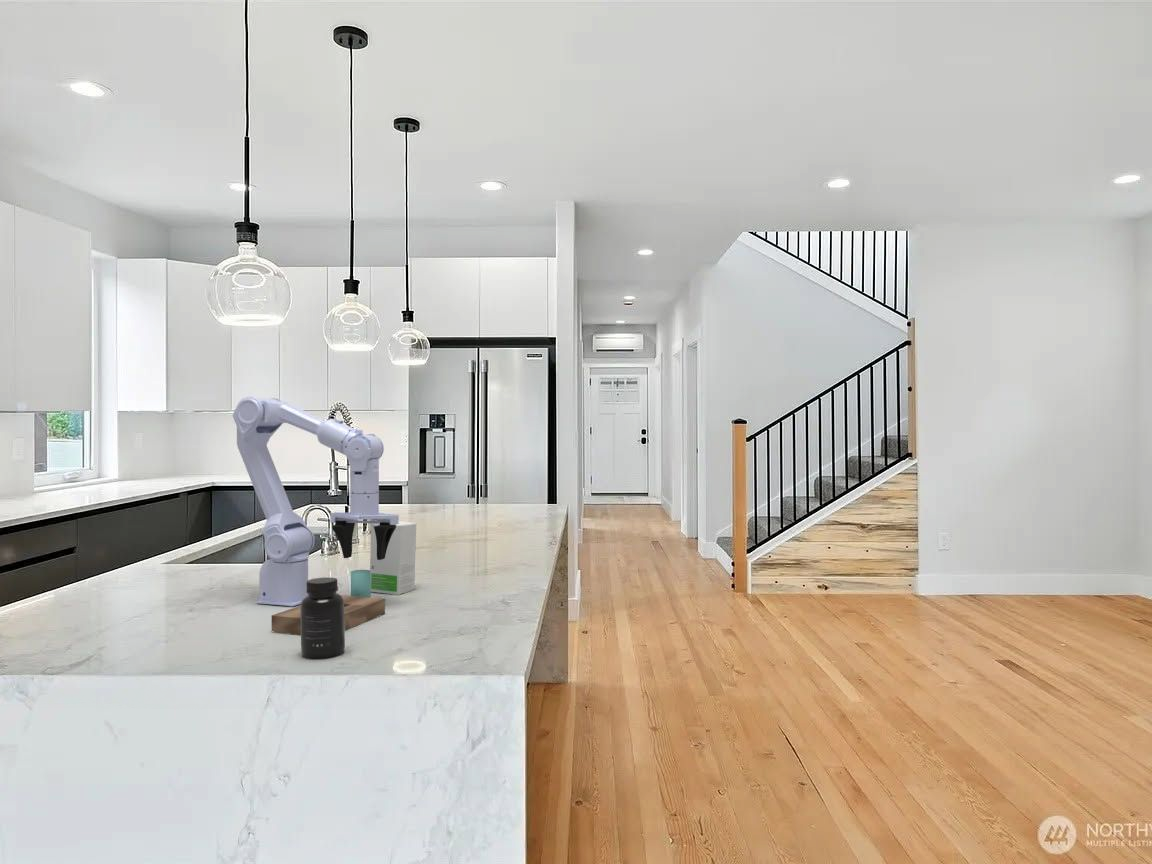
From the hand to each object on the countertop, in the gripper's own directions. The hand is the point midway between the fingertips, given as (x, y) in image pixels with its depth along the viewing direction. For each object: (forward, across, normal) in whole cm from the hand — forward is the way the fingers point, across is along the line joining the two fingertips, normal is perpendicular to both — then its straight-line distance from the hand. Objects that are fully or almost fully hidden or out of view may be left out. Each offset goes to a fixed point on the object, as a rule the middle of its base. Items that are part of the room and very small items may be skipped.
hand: (364, 558), depth 156 cm
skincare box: (+10, -1, +14) cm, 18 cm away
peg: (+10, -1, 0) cm, 10 cm away
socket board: (+10, +1, -14) cm, 17 cm away
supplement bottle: (+10, +10, -32) cm, 35 cm away
